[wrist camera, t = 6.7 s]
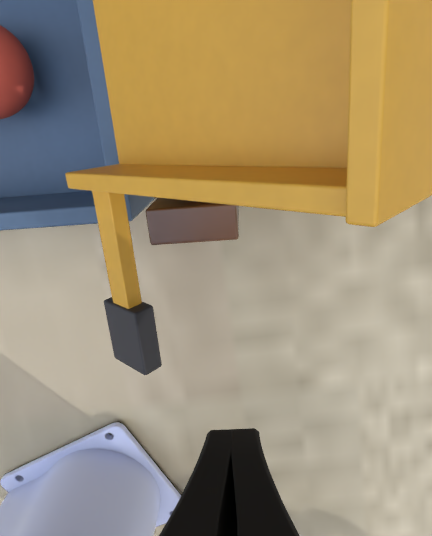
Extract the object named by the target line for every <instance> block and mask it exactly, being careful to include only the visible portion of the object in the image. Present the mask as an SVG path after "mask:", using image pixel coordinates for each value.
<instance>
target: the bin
mask: <svg viewBox="0 0 432 536" xmlns="http://www.w3.org/2000/svg"><path fill="white" fill-rule="evenodd" d="M0 25H1V26H2V27H4V28H6V29H7V30H8V31H9V32H11V33H12V34H13V35H14V36H15V37H16V38H17V39H18V40H19V41H20V43H21V44H22V45H23V47H24V48H25V50H26V52H27V53H28V55H29V58H30V60H31V63H32V66H33V71H34V87H33V92H32V94H31V97H30V99H29V101H28V103H27V104H26V105H25V106H24V107H23V108H22V109H21V110H20V111H19V112H17V113H16V114H14V115H12V116H10V117H7V118H4V119H0V230H13V229H27V228H40V227H54V226H68V225H82V224H96V223H98V220H97V215H96V209H95V204H94V199H93V193H92V191H89V190H79V189H70V188H68V185H67V180H66V175H65V173H67V172H73V171H79V170H85V169H91V168H97V167H103V166H110V165H116V164H119V159H118V153H117V147H116V141H115V134H114V128H113V122H112V116H111V110H110V104H109V98H108V91H107V85H106V79H105V73H104V67H103V61H102V54H101V48H100V42H99V36H98V30H97V24H96V18H95V11H94V5H93V0H0ZM124 196H125V202H126V209H127V215H128V221H132V220H133V219H134V218H135V217H136V216H137V215H138V214H139V213H140V212H141V211H142V210H143V209H144V208H145V207H146V206H147V205H148V204H149V203H150V202H151V201H153V200H154V197H148V196H138V195H128V194H124Z"/></svg>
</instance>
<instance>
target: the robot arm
mask: <svg viewBox="0 0 432 536" xmlns="http://www.w3.org/2000/svg"><path fill="white" fill-rule="evenodd" d="M108 433H111V434H113V435H109V434H108ZM0 483H1V485H2V487H3V488H4V489H5V490H6V491H7V492H8V494H7V496H6V497H5V499H4V501H3V502H2V504H1V505H0V536H154V532H155V527H157V526H160V525H162V524H165V523H166V525H165V527H164V528H163V530H162V532H161V533H160V535H159V536H299V534H298V532H297V530H296V528H295V526H294V524H293V522H292V520H291V518H290V516H289V514H288V512H287V510H286V508H285V506H284V504H283V502H282V500H281V498H280V495H279V493H278V491H277V488H276V486H275V484H274V481H273V479H272V476H271V474H270V471H269V469H268V466H267V463H266V460H265V457H264V454H263V450H262V446H261V442H260V437H259V431H257V430H256V429H231V430H211V431H210V432H209V433H208V434H207V437H206V440H205V443H204V446H203V449H202V451H201V454H200V456H199V459H198V461H197V464H196V466H195V468H194V471H193V473H192V475H191V477H190V479H189V481H188V483H187V485H186V487H185V489H184V492H183V494H182V496H181V495H180V493H179V492H178V491H177V490H176V489H175V487H174V486H173V485H172V484H171V482H170V481H169V480H168V479H167V477H166V476H165V475H164V474H163V472H162V471H161V470H160V469H159V468H158V466H157V465H156V464H155V463H154V461H153V460H152V459H151V458H150V456H149V455H148V454H147V453H146V452H145V450H144V449H143V448H142V447H141V445H140V444H139V443H138V442H137V440H136V439H135V438H134V437H133V436H132V434H131V433H130V432H129V431H128V429H127V428H126V427H125V426H124V425H123V424H122V423H119V422H114V423H112V424H110V425H107V426H105V427H103V428H101V429H99V430H97V431H95V432H93V433H91V434H89V435H86V436H84V437H82V438H80V439H78V440H76V441H74V442H72V443H70V444H68V445H65V446H63V447H61V448H59V449H57V450H55V451H53V452H51V453H49V454H47V455H44V456H42V457H40V458H38V459H36V460H34V461H32V462H30V463H28V464H26V465H23V466H21V467H19V468H17V469H15V470H13V471H11V472H9V473H7V474H5V475H4V476H3V477H2V479H1V481H0Z"/></svg>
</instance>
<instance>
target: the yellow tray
mask: <svg viewBox="0 0 432 536" xmlns="http://www.w3.org/2000/svg"><path fill="white" fill-rule="evenodd" d="M93 5H94V11H95V18H96V24H97V30H98V36H99V42H100V48H101V54H102V61H103V67H104V73H105V79H106V85H107V91H108V98H109V104H110V110H111V116H112V122H113V128H114V134H115V141H116V147H117V153H118V159H119V164H116V165H110V166H103V167H97V168H91V169H85V170H79V171H73V172H67V173H65V175H66V180H67V185H68V188H70V189H79V190H89V191H92V193H93V199H94V204H95V209H96V215H97V220H98V225H99V230H100V236H101V241H102V246H103V252H104V257H105V262H106V267H107V273H108V278H109V283H110V289H111V294H112V297H111V298H109V299H106V300H105V301H104V305H105V310H106V315H107V320H108V325H109V330H110V335H111V340H112V346H113V351H114V356H115V358H116V359H118V360H120V361H121V362H123V363H125V364H126V365H128V366H130V367H132V368H133V369H135V370H137V371H138V372H140V373H142V374H144V375H147V374H149V373H151V372H152V371H154V370H156V369H157V368H159V367H161V365H162V364H161V358H160V351H159V345H158V338H157V332H156V325H155V318H154V312H153V307H152V306H151V305H149V304H146V303H144V302H142V301H141V295H140V289H139V282H138V276H137V270H136V264H135V258H134V252H133V245H132V239H131V233H130V227H129V221H128V215H127V209H126V202H125V196H124V194H128V195H138V196H148V197H158V198H167V199H177V200H187V201H197V202H207V203H217V204H226V205H236V206H246V207H256V208H266V209H275V210H285V211H295V212H305V213H315V214H325V215H334V216H344V217H346V223H348V224H353V225H361V226H370V227H375V226H378V225H380V224H381V223H383V222H385V221H387V220H388V219H390V218H392V217H394V216H396V215H397V214H399V213H401V212H403V211H405V210H406V209H408V208H410V207H412V206H413V205H415V204H417V203H419V202H421V201H422V200H424V199H426V198H428V197H429V196H431V195H432V0H93Z"/></svg>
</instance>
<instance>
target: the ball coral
mask: <svg viewBox="0 0 432 536" xmlns="http://www.w3.org/2000/svg"><path fill="white" fill-rule="evenodd" d="M33 87H34V71H33V66H32V63H31V60H30V58H29V55H28V53H27V52H26V50H25V48H24V47H23V45H22V44H21V43H20V41H19V40H18V39H17V38H16V37H15V36H14V35H13V34H12V33H11V32H9V31H8V30H7V29H6V28H4V27H2V26H1V25H0V119H4V118H7V117H10V116H12V115H14V114H16V113H17V112H19V111H20V110H21V109H22V108H23V107H24V106H25V105H26V104H27V103H28V101H29V99H30V97H31V94H32V92H33Z"/></svg>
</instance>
